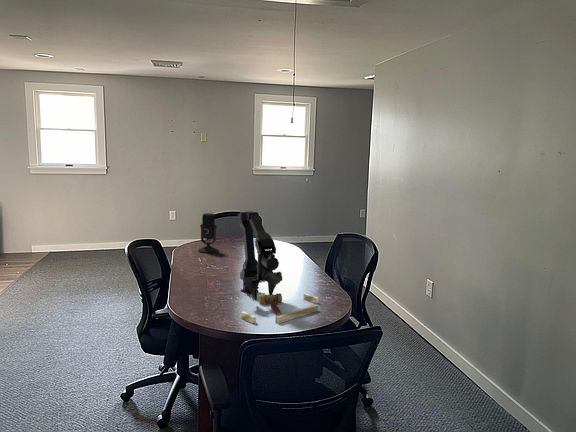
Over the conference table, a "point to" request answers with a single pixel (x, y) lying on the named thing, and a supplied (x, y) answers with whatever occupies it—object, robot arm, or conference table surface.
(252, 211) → the robot arm
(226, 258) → the conference table surface
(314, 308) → the wooden bars
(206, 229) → the microphone
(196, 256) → the conference table surface
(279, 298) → the gavel
